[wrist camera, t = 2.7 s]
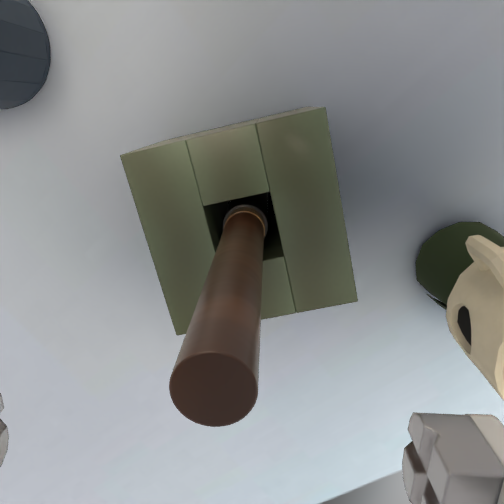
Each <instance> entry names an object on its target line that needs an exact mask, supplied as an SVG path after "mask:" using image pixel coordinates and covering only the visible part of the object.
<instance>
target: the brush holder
mask: <svg viewBox="0 0 504 504" xmlns="http://www.w3.org/2000/svg"><path fill="white" fill-rule="evenodd" d="M120 157H121V160H122V163H123V167H124V170H125V173H126V176H127V179H128V182H129V186H130V189H131V192H132V195H133V198H134V202H135V205H136V208H137V211H138V214H139V217H140V221H141V224H142V227H143V230H144V233H145V236H146V240H147V243H148V246H149V249H150V252H151V256H152V259H153V262H154V265H155V268H156V271H157V275H158V278H159V281H160V284H161V287H162V290H163V294H164V297H165V300H166V303H167V306H168V310H169V313H170V316H171V319H172V322H173V325H174V329H175V332H176V335H182V334H186V333H187V330H188V327H189V325H190V322H191V319H192V316H193V314H194V311H195V308H196V305H197V303H198V300H199V297H200V294H201V291H202V289H203V286H204V283H205V280H206V278H207V275H208V272H209V269H210V267H211V264H212V261H213V258H214V255H215V253H216V250H217V247H218V244H219V242H220V239H221V236H222V233H223V219H224V217H225V214H226V212H227V209H228V207H229V206H228V202H227V201H230V200H234V199H239V198H244V197H248V196H253V195H257V194H262V193H267V192H270V193H271V198H272V203H273V207H274V212H275V216H273V217H268V231H267V234H266V236H265V238H264V246H263V272H262V299H261V319H267V318H272V317H277V316H283V315H288V314H293V313H296V312H297V313H299V312H304V311H309V310H315V309H320V308H325V307H331V306H336V305H341V304H346V303H352V302H357V301H358V299H357V293H356V287H355V281H354V275H353V269H352V263H351V257H350V251H349V245H348V239H347V233H346V227H345V221H344V215H343V209H342V203H341V197H340V191H339V185H338V179H337V173H336V167H335V161H334V155H333V149H332V143H331V137H330V131H329V125H328V119H327V113H326V108H325V107H304V108H299V109H295V110H291V111H287V112H283V113H278V114H274V115H270V116H266V117H261V118H257V119H253V120H249V121H245V122H240V123H236V124H232V125H228V126H223V127H219V128H215V129H211V130H207V131H202V132H198V133H194V134H190V135H185V136H181V137H177V138H173V139H169V140H164V141H161V142H158V143H155V144H152V145H149V146H146V147H143V148H140V149H137V150H134V151H131V152H128V153H125V154H122V155H120Z"/></svg>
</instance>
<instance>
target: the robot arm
mask: <svg viewBox="0 0 504 504" xmlns="http://www.w3.org/2000/svg"><path fill="white" fill-rule="evenodd" d="M3 409H4V405H3V400H2V396H1V393H0V413H1V412H2V410H3ZM408 432H409V434H410V436H411V439H412V442H411V443H410V444H408V445H407V446H406V447H405V448H404V454H403V461H402V469H403V481H404V485H405V490H406V493H407V496H408V498H409V501H410V502H411V503H412V504H504V426H503V424H502V423H501V422H500V421H499V419H498V418H496V417H495V416H493V415H482V414H465V415H455V414H435V413H414V412H413V414H412V416H411V418H410V421H409V426H408ZM8 440H9V435H8V428H7V426H6V425H5V424H4V422H3V421H2V420H1V419H0V467H1V465H2V463H3V460H4V458H5V455H6V452H7V450H8Z"/></svg>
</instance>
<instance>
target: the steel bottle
mask: <svg viewBox="0 0 504 504" xmlns="http://www.w3.org/2000/svg"><path fill="white" fill-rule="evenodd" d="M49 65H50V46H49V40H48V36H47V33H46V30H45V27H44V25H43V22H42V21H41V19H40V17H39V15H38V13H37V12H36V11H35V9H34V8H33V6H32V5H31V4H30V3H29V2H28V0H0V109H8V108H12V107H16V106H19V105H21V104H23V103H25V102H27V101H28V100H30V99H31V98H33V96H34V95H35V94H36V93H37V92H38V91H39V90H40V88H41V87H42V85H43V83H44V81H45V79H46V77H47V74H48V70H49Z"/></svg>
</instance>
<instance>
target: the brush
mask: <svg viewBox="0 0 504 504" xmlns="http://www.w3.org/2000/svg"><path fill="white" fill-rule="evenodd" d="M267 231H268V192H267V193H262V194H257V195H253V196H248V197H244V198H239V199H234V200H231V202H230V204H229V207H228V209H227V212H226V214H225V217H224V219H223V233H222V236H221V239H220V242H219V244H218V247H217V250H216V253H215V255H214V258H213V261H212V264H211V267H210V269H209V272H208V275H207V278H206V280H205V283H204V286H203V289H202V291H201V294H200V297H199V300H198V303H197V305H196V308H195V311H194V314H193V316H192V319H191V322H190V325H189V327H188V330H187V333H186V336H185V338H184V341H183V344H182V347H181V350H180V352H179V355H178V358H177V361H176V363H175V366H174V369H173V372H172V374H171V377H170V382H169V390H170V395H171V398H172V401H173V403H174V405H175V406H176V408H177V409H178V410H179V411H180V412H181V413H182V414H183V415H184V416H185V417H186V418H188V419H190V420H191V421H193V422H195V423H198V424H201V425H205V426H212V427H220V426H226V425H230V424H233V423H236V422H238V421H239V420H241V419H243V418H244V417H245V416H246V415H247V414H248V413H249V412H250V411H251V410H252V408H253V407H254V405H255V402H256V400H257V396H258V378H259V352H260V325H261V299H262V272H263V246H264V238H265V236H266V234H267Z"/></svg>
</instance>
